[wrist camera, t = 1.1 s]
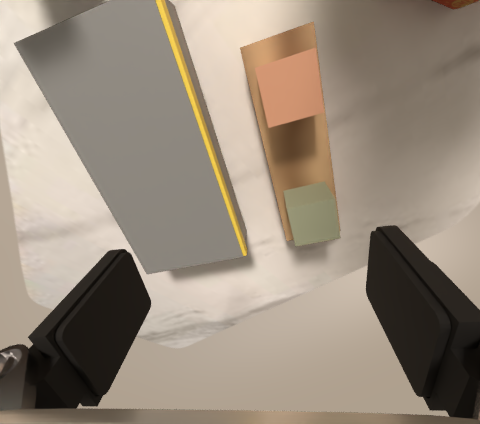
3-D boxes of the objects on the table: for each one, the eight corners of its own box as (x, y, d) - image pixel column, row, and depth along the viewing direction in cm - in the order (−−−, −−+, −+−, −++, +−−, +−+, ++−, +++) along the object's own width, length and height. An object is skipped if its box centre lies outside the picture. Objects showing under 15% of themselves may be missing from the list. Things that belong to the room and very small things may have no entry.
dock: (178, 3, 24) (153, -20, 18) (249, 229, 35) (246, 256, 29) (63, 51, 26) (13, 43, 21) (163, 247, 37) (146, 274, 32)
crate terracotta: (306, 53, 22) (315, 47, 18) (314, 107, 24) (324, 112, 20) (256, 70, 23) (254, 67, 19) (267, 120, 25) (268, 128, 21)
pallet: (306, 30, 24) (313, 21, 21) (332, 215, 33) (340, 231, 30) (243, 52, 25) (240, 47, 22) (284, 224, 34) (286, 241, 31)
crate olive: (324, 181, 27) (335, 198, 23) (329, 216, 29) (340, 238, 25) (283, 190, 28) (286, 208, 24) (291, 224, 30) (295, 246, 26)
